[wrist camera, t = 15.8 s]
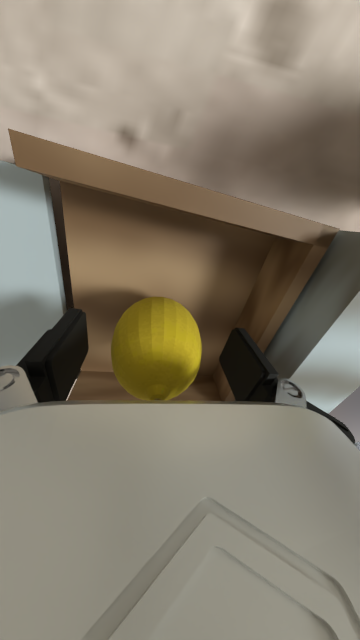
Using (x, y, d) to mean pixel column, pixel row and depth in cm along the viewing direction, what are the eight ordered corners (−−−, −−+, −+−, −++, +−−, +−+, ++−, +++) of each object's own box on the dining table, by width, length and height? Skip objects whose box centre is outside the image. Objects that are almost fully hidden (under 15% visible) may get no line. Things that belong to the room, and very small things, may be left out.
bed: (52, 156, 11) (-180, 29, 3) (338, 238, 16) (501, 261, 9) (77, 357, 20) (29, 447, 12) (257, 367, 25) (303, 435, 17)
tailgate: (51, 175, 10) (-110, 132, 8) (41, 171, 9) (-154, 118, 7) (75, 359, 18) (-5, 362, 16) (71, 371, 17) (-16, 376, 15)
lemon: (112, 320, 14) (72, 416, 8) (146, 265, 12) (131, 332, 6) (166, 346, 16) (172, 438, 10) (203, 303, 14) (242, 384, 8)
